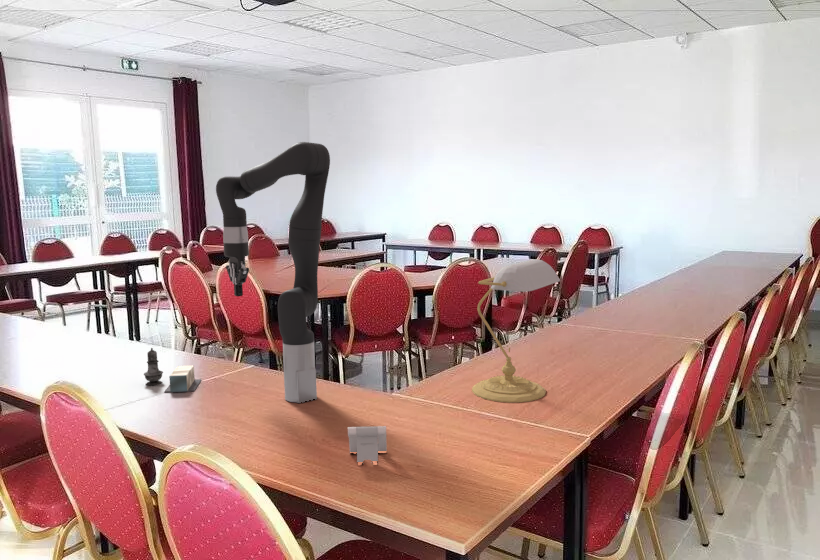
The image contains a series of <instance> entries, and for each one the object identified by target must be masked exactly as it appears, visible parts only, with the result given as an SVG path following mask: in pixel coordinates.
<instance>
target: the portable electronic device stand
mask: <svg viewBox="0 0 820 560" xmlns="http://www.w3.org/2000/svg"><path fill="white" fill-rule="evenodd" d="M347 438H348V446H349V453H350V452H357V454H356V463H357V462H363V461H368V460H369V461H378V462H379V454H378V451H387V450H388V449H387V447H388V446H387V426H386V425H382V426H381V425H377V426H376V425H375V426H374V425H373V426H348V427H347ZM387 452H388V451H387Z"/></svg>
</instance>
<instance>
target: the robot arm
mask: <svg viewBox="0 0 820 560" xmlns="http://www.w3.org/2000/svg"><path fill="white" fill-rule="evenodd" d="M330 156H331V155H330V152H329V150H328V148H327V147H326V146H325V145H324V144H322V143H318V142H317V143H316V142H309V141H308V142H307V141H300V142H296V143H295V144H293V145H291V146H290V147H288V148H287V149H285V150H284V151H283V152H282V151H281V153H280V154H278V155H276V156H274V157H273V158H271V159H270V160H268V161H265V162H263V163H261V164H258V165H256V166H253V167H250V168H248V169H246V170H244V171H243V172H242V173H241V175H240V176H233V175H232V176H231V175H230V176H229V175H228V176H227V175H226V176H221V177H220V178H219V179H218V180H217V181H216V186H215V194H216V196H217V197H216V198H217V200H218V203H219V207H220V210H221V212H222V218H223V219H222V220H223V221H222V222H223V223H222V225H223V233H222V236H223V237H222V239H223V241H222V242H223V255H224V257H225V258H228V259H229V260H228V265H226V266H225V269H226V271H227V275H228V277H229V281H230V282H231V283H232V285H233V292H234V295H233V296H235V297H242V296H243V295H244V293H243V292H244V291H243V285H244V283H246V281H247V278H248V275H249V271H250V270H249V269H250V268H249V267H246V260H245V257H248V256H249V255H250V246H249V232H248V225H247V211H246V209H245V208H243V207H240V206H238V204H237V202H236V200H244V199H247V198H249V197H251V196H253V195H254V194H255V193H257V192H260V191H262V190H265V189H267V188H271V187H272V186H273V185H275V184H276V183H277V182H278V180H281V178H284V177H288V176H293V175H301V176H305V177H304V178H305V180H304V188H303V192H302V195H301V197H300V200H299V201H298V203H297V204H296V206H295V208H294V209H293V212H292V214H291V217H290V220H289V224H288V225H289V226H288V237H287V243H288V247H289V249H288V250H289V252H290V255H291V258H292V261H293V264H294V281H293V287H292V288H291V289H287V290H285V291H283V292H282V293H280V295H279V298H278V301H277V318H278V330H279V333H280V336H281V338H282V358H283V382H284V383H283V384H284V386H283V387H284V400H285V401H287V402H291V403H297V404H302V403H306V402H305V401H307V402H310V401H309V400H311V401H314V400H313V399H315V400H317V399H318V398H317V397H318V396H317V395H318V392H317V391H318V390H317V389H318V388H317V369H316V359H315V356H316V354H315V334H314V332H313V330H311V329H309V328H308V324H307V318H308V317H310V316H312V315H313V314H314V313H315V312H316V309H317V307H318V303H319V302H318V300H319V295H318V294H319V293H318V288H319V287H318V269H319V268H318V267H319V257H320V245H321V237H322V236H321V235H322V223H323V219H322V218H323V212H324V211H323V209H324V200H325V194H326V189H327V183H328V177H329V171H330V165H331V157H330ZM301 402H302V403H301Z"/></svg>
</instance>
